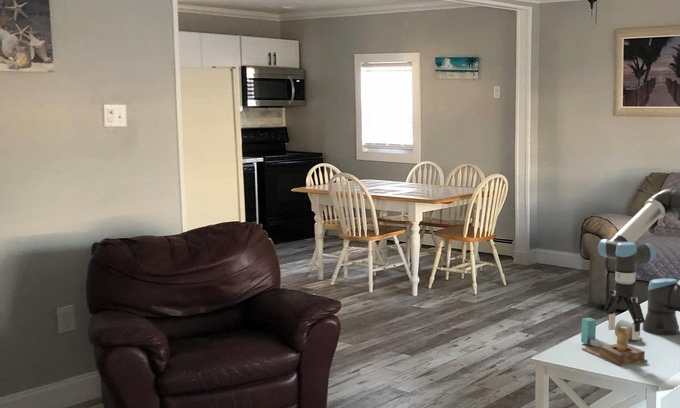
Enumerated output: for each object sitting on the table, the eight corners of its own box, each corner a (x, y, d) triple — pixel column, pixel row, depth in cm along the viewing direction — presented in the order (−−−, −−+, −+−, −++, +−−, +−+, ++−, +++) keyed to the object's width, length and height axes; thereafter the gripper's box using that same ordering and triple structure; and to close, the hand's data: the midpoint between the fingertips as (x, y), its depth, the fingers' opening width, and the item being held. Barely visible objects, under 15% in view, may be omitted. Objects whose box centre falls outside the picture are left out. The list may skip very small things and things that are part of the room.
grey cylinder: (631, 342, 342) (632, 325, 341) (613, 338, 348) (614, 320, 347) (644, 338, 349) (645, 320, 348) (627, 334, 355) (628, 317, 354)
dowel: (622, 355, 324) (623, 326, 322) (629, 358, 320) (630, 328, 318) (614, 356, 322) (615, 327, 321) (621, 359, 318) (622, 329, 317)
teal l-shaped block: (588, 340, 342) (589, 317, 341) (617, 352, 326) (618, 328, 325) (581, 341, 341) (581, 318, 340) (609, 354, 325) (610, 329, 323)
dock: (609, 345, 338) (609, 336, 337) (647, 361, 318) (647, 351, 317) (581, 349, 333) (582, 340, 332) (618, 365, 313) (619, 355, 312)
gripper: (596, 276, 327) (594, 327, 330) (640, 290, 304) (638, 344, 307) (611, 274, 330) (609, 324, 333) (655, 287, 307) (653, 342, 310)
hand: (623, 334), depth 320 cm, fingers open, 13 cm apart
